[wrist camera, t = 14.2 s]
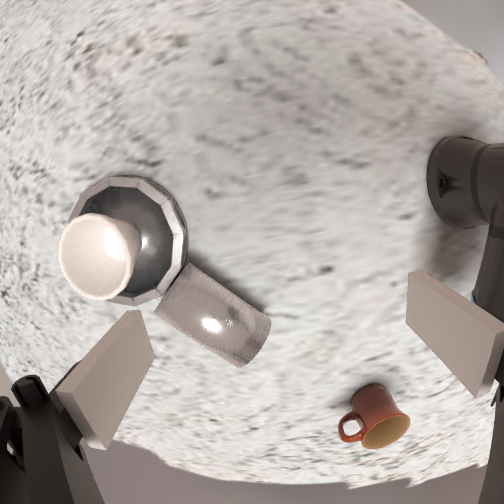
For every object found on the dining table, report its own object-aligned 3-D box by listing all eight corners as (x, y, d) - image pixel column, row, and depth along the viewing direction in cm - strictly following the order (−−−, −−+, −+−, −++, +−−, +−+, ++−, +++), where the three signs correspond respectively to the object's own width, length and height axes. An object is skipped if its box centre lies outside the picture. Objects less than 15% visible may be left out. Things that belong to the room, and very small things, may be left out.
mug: (390, 373, 45) (414, 407, 35) (385, 405, 47) (405, 439, 37) (329, 389, 45) (344, 430, 35) (328, 420, 47) (341, 459, 37)
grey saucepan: (60, 251, 38) (30, 265, 31) (113, 151, 35) (85, 145, 28) (217, 366, 43) (212, 399, 36) (290, 282, 40) (301, 305, 32)
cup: (153, 203, 36) (126, 210, 27) (159, 276, 39) (136, 302, 30) (89, 208, 36) (52, 217, 27) (97, 276, 38) (65, 299, 29)
